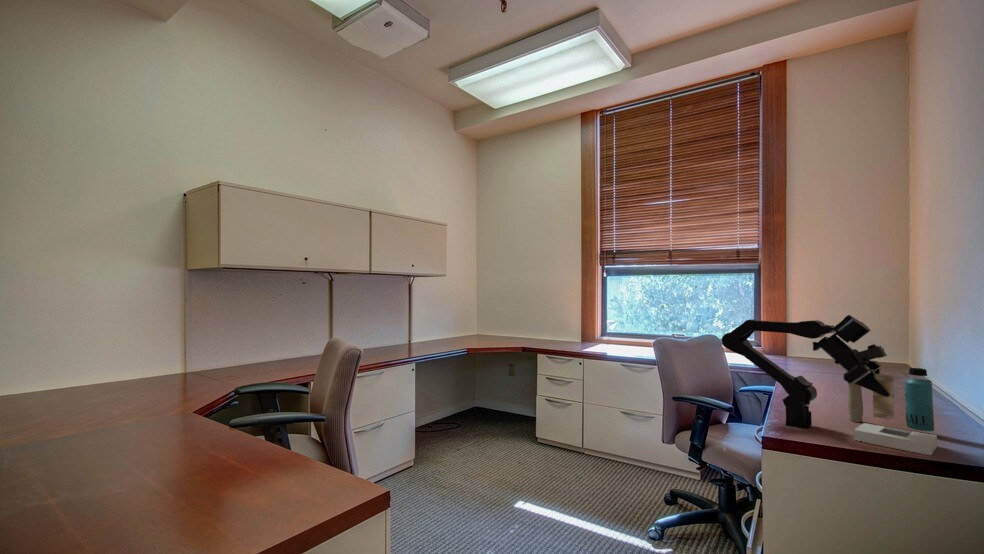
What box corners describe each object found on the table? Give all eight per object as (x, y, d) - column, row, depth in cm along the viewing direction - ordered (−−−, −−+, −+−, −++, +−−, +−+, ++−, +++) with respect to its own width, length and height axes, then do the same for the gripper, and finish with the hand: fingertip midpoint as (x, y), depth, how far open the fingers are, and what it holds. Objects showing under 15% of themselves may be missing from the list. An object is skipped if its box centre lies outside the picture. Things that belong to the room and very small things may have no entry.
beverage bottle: (929, 432, 138) (926, 367, 139) (939, 437, 132) (936, 370, 133) (902, 429, 141) (899, 365, 142) (911, 434, 135) (908, 368, 136)
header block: (854, 440, 129) (853, 429, 129) (864, 432, 137) (863, 423, 137) (931, 455, 117) (930, 443, 117) (937, 446, 124) (936, 435, 124)
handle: (871, 423, 147) (869, 378, 148) (849, 422, 148) (847, 377, 149) (862, 420, 152) (860, 375, 153) (841, 418, 153) (839, 375, 154)
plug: (873, 416, 129) (872, 375, 129) (876, 414, 131) (875, 373, 132) (891, 419, 126) (890, 377, 126) (894, 417, 128) (893, 375, 129)
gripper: (856, 336, 127) (910, 381, 118) (871, 334, 139) (921, 374, 130) (823, 361, 133) (873, 405, 123) (840, 357, 144) (886, 397, 135)
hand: (889, 395), depth 128 cm, fingers closed on plug, 4 cm apart
